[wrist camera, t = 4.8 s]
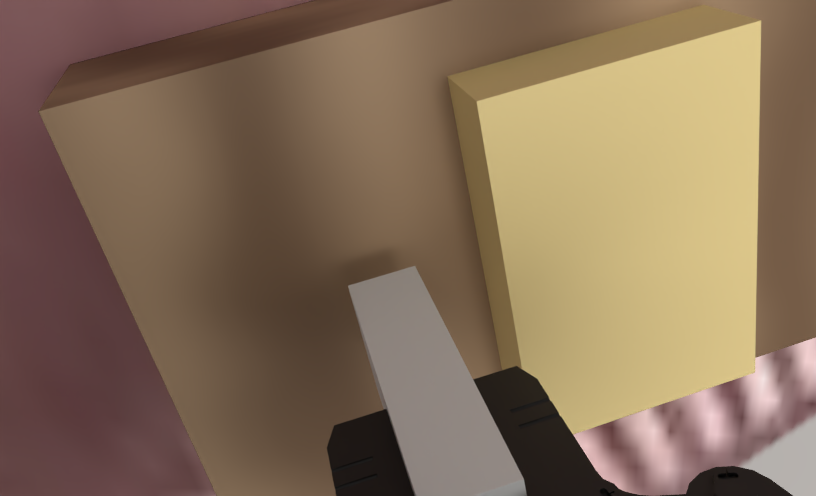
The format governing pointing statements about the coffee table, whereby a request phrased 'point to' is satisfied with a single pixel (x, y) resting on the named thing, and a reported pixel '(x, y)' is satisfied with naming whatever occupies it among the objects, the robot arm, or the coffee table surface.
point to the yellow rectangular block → (620, 209)
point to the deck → (351, 200)
